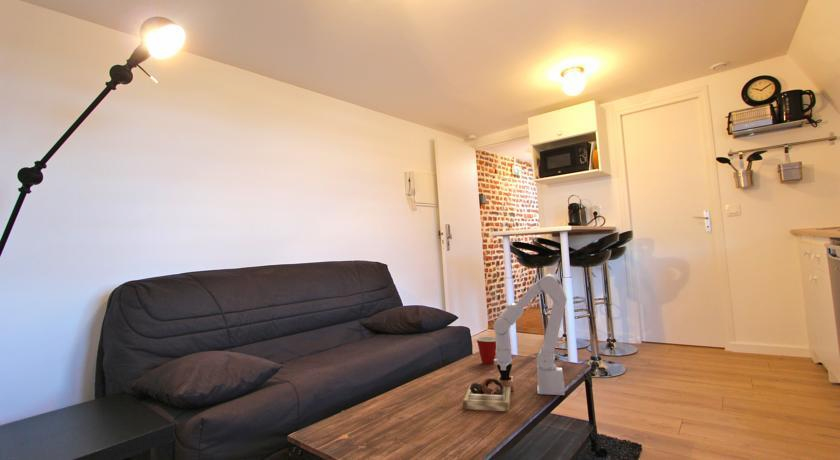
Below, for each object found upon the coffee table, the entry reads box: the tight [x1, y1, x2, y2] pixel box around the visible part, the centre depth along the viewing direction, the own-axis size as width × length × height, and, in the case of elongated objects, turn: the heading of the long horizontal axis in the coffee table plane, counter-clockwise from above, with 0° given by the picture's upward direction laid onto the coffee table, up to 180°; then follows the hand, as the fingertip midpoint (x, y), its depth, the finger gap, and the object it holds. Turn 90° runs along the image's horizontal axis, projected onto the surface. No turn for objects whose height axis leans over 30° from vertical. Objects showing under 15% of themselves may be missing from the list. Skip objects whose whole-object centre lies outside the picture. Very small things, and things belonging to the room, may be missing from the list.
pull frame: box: [468, 375, 515, 401], centre depth 146 cm, size 15×23×4 cm, turn 164°
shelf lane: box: [462, 384, 512, 412], centre depth 142 cm, size 15×16×3 cm
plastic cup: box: [475, 336, 497, 366], centre depth 188 cm, size 11×11×12 cm
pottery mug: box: [469, 377, 503, 395], centre depth 143 cm, size 12×10×8 cm
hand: (505, 383), depth 154 cm, fingers closed
